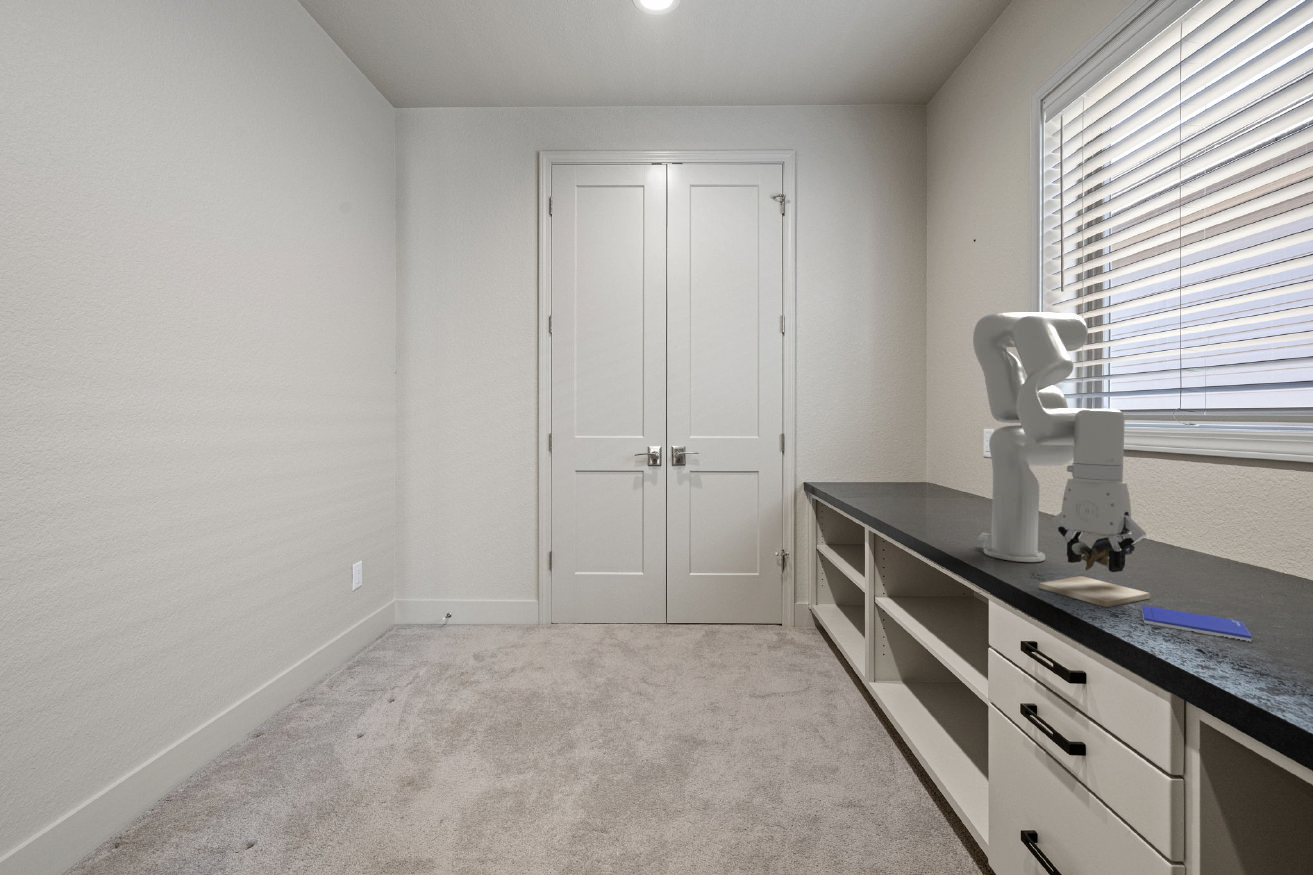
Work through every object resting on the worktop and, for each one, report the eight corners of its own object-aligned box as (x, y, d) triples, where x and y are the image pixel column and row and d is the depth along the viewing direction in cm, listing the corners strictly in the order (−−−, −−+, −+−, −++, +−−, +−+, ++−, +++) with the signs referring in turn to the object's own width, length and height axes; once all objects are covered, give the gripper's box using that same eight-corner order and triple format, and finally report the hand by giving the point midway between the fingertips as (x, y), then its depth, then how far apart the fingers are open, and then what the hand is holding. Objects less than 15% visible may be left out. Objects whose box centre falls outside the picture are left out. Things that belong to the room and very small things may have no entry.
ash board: (1039, 587, 112) (1039, 582, 112) (1080, 580, 117) (1081, 575, 117) (1106, 607, 101) (1107, 601, 101) (1149, 598, 106) (1149, 593, 106)
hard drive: (1241, 620, 92) (1141, 604, 100) (1252, 635, 86) (1144, 617, 93) (1241, 629, 92) (1141, 612, 100) (1251, 645, 86) (1143, 626, 93)
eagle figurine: (1120, 571, 103) (1146, 557, 106) (1093, 536, 106) (1120, 523, 109) (1083, 584, 109) (1109, 570, 113) (1059, 550, 112) (1085, 538, 116)
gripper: (1038, 470, 114) (1036, 557, 115) (1138, 478, 98) (1135, 580, 99) (1062, 469, 117) (1060, 554, 118) (1163, 477, 101) (1160, 576, 102)
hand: (1094, 565), depth 108 cm, fingers closed on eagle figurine, 6 cm apart
